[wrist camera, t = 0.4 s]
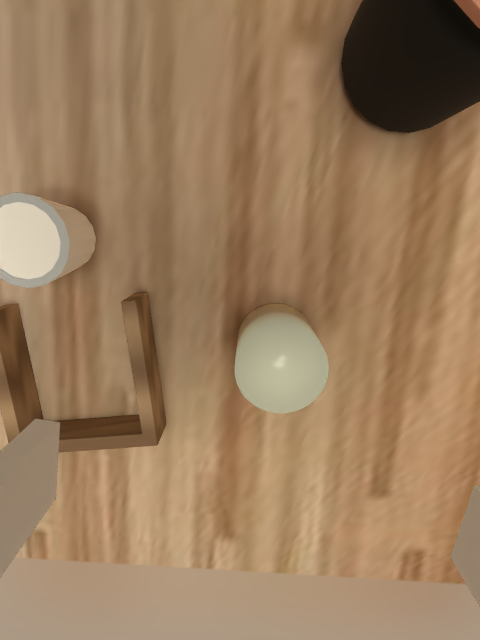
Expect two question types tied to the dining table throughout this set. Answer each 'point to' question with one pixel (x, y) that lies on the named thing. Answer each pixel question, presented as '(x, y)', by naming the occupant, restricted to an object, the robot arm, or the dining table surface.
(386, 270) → the dining table surface
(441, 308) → the dining table surface
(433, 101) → the coffee jar
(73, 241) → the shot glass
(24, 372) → the bay
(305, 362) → the cream rounded cylinder
